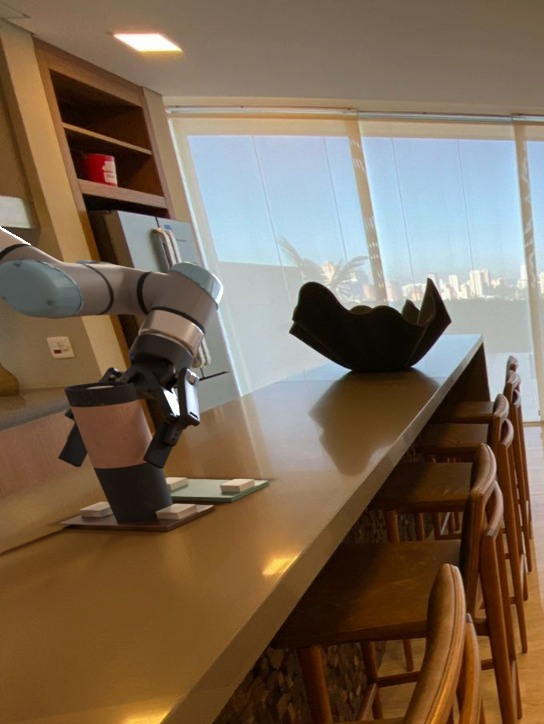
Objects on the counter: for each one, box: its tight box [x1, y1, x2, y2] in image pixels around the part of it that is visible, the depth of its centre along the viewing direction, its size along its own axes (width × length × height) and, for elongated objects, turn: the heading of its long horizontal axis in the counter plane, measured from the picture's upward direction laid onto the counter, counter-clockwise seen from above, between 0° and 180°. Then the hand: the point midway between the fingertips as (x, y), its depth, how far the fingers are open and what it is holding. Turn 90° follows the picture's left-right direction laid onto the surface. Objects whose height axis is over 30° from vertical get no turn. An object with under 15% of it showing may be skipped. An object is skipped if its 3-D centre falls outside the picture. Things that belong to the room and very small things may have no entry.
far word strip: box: [165, 476, 270, 503], centre depth 100 cm, size 18×9×2 cm, turn 85°
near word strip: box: [59, 501, 216, 533], centre depth 88 cm, size 18×9×2 cm, turn 85°
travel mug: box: [64, 381, 174, 523], centre depth 85 cm, size 8×8×20 cm
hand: (110, 463), depth 83 cm, fingers open, 13 cm apart
